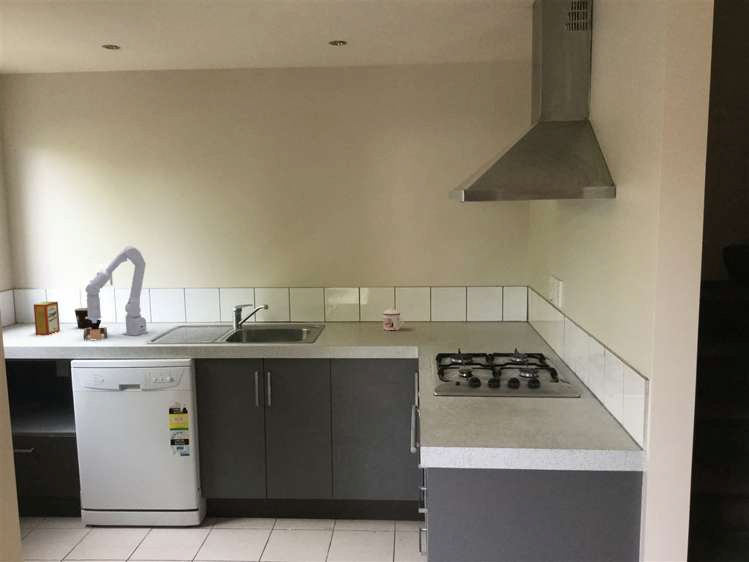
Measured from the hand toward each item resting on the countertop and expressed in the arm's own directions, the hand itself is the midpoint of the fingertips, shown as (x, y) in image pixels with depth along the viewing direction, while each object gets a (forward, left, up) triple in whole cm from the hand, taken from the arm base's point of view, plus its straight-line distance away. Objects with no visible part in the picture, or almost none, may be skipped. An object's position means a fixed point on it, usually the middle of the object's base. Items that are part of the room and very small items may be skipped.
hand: (95, 335), depth 298 cm
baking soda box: (+32, +3, -2) cm, 32 cm away
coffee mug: (+26, -14, -1) cm, 29 cm away
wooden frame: (+2, -1, -1) cm, 3 cm away
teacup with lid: (-127, -75, -1) cm, 148 cm away
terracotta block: (-3, +2, -1) cm, 4 cm away
